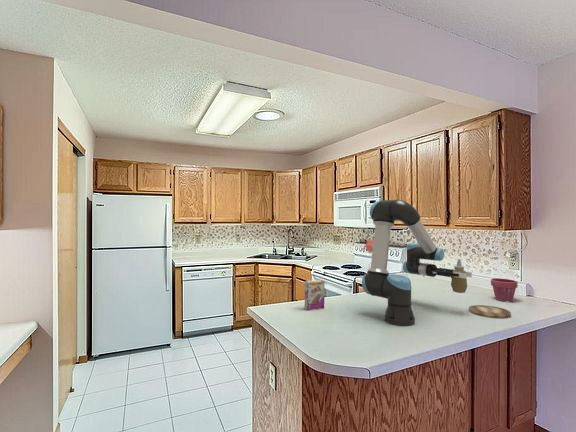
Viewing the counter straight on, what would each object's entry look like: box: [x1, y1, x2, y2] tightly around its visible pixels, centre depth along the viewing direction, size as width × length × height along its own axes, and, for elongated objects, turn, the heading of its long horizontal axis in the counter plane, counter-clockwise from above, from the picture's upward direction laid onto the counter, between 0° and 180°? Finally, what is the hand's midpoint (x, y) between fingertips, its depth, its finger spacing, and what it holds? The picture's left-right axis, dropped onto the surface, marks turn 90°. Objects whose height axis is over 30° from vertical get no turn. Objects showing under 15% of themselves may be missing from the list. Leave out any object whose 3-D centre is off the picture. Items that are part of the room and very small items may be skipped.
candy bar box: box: [304, 279, 325, 311], centre depth 188 cm, size 11×5×16 cm, turn 110°
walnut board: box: [468, 304, 512, 319], centre depth 178 cm, size 20×20×2 cm
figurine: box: [360, 238, 374, 265], centre depth 274 cm, size 15×26×35 cm, turn 41°
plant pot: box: [490, 277, 519, 302], centre depth 204 cm, size 14×14×13 cm
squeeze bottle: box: [450, 259, 468, 294], centre depth 177 cm, size 8×8×18 cm
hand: (468, 275), depth 173 cm, fingers closed on squeeze bottle, 6 cm apart
